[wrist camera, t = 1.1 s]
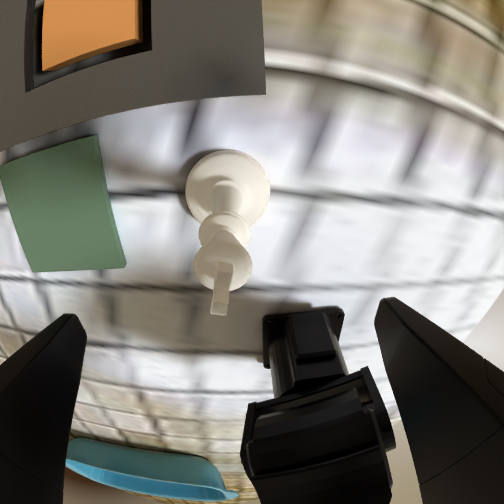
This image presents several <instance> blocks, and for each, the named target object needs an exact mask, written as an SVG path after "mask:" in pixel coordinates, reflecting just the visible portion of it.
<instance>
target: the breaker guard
mask: <svg viewBox="0 0 504 504" xmlns="http://www.w3.org/2000/svg"><path fill="white" fill-rule="evenodd" d="M35 3H36V0H0V152H1V151H3V150H6V149H8V148H10V147H13V146H15V145H17V144H20V143H22V142H25V141H27V140H30V139H33V138H35V137H38V136H41V135H43V134H46V133H49V132H52V131H55V130H58V129H61V128H64V127H67V126H71V125H74V124H77V123H81V122H84V121H88V120H91V119H95V118H99V117H103V116H107V115H111V114H115V113H120V112H124V111H129V110H134V109H139V108H144V107H149V106H155V105H161V104H167V103H174V102H181V101H189V100H197V99H207V98H218V97H231V96H249V95H266V82H265V59H264V38H263V19H262V2H261V0H151V29H152V50H151V51H146V52H142V53H138V54H133V55H129V56H125V57H121V58H118V59H114V60H111V61H107V62H104V63H101V64H97V65H94V66H91V67H88V68H85V69H82V70H79V71H77V72H74V73H71V74H69V75H66V76H63V77H61V78H58V79H56V80H53V81H51V82H49V83H46V84H44V85H42V86H40V87H37V88H35V89H34V79H33V27H34V13H35Z"/></svg>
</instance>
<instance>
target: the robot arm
mask: <svg viewBox="0 0 504 504" xmlns="http://www.w3.org/2000/svg"><path fill="white" fill-rule="evenodd" d="M338 314H339V315H338ZM344 316H345V314H344V312H343V310H342V309H341V308H337V309H328V310H319V311H309V312H299V313H287V314H275V315H266V316H264V317H263V319H262V334H263V365H264V368H267V369H271V375H272V384H273V392H274V399H270V400H266V401H262V402H258V403H257V402H253V403H249V404H248V409H247V414H246V419H245V425H244V432H243V438H242V444H241V451H240V457H241V463H242V465H243V466H244V470H245V472H246V474H247V476H248V478H249V479H250V481H251V482H252V484H253V486H254V488H255V490H256V492H257V494H258V497H259V499H260V502H261V504H389V503H390V501H391V497H392V493H391V488H392V484H393V481H392V477H391V472H390V468H389V464H388V459H387V456H386V452H387V451H390V450H393V449H395V448H396V442H395V437H394V433H393V429H392V425H391V422H390V419H389V416H388V413H387V410H386V407H385V405H384V402H383V400H382V398H381V395H380V393H379V391H378V388H377V386H376V384H375V381H374V379H373V377H372V375H371V372H370V370H369V368H368V366H366V367H364V368H361V369H360V370H359V371H357V372H354V373H352V374H349V373H348V370H347V367H346V364H345V361H344V358H343V355H342V352H341V349H340V346H339V343H338V341H339V337H340V333H341V329H342V325H343V320H344ZM267 321H270V322H267ZM374 325H375V330H376V334H377V337H378V341H379V345H380V349H381V354H382V358H383V362H384V366H385V370H386V373H387V376H388V379H389V382H390V385H391V388H392V391H393V394H394V397H395V400H396V403H397V406H398V409H399V412H400V416H401V419H402V422H403V425H404V429H405V432H406V435H407V439H408V443H409V446H410V450H411V454H412V458H413V462H414V466H415V469H416V474H417V477H418V482H419V484H420V485H419V487H420V492H421V497H422V501H423V504H504V372H503V371H502V370H500V369H499V368H497V367H496V366H495V365H493V364H492V363H490V362H489V361H488V360H486V359H483V357H482V356H481V355H479V354H478V353H476V352H475V351H474V350H472V349H470V348H469V347H468V346H467V345H465V344H464V343H462V342H461V341H459V340H458V339H457V338H455V337H454V336H452V335H451V334H449V333H448V332H446V331H445V330H443V329H442V328H441V327H439V326H438V325H436V324H435V323H433V322H432V321H430V320H429V319H427V318H426V317H424V316H423V315H421V314H420V313H418V312H417V311H415V310H414V309H412V308H411V307H409V306H408V305H406V304H405V303H403V302H402V301H400V300H398V299H397V298H395V297H389V298H383V299H381V301H380V303H379V306H378V310H377V313H376V316H375V320H374ZM86 342H87V335H86V332H85V330H84V328H83V326H82V324H81V322H80V320H79V318H78V317H77V316H76V315H75V314H68V313H66V314H63V315H62V316H60V317H59V318H58V319H56V320H55V321H54V322H52V323H51V324H50V325H49V326H47V327H46V328H45V329H43V330H42V331H41V332H40V333H38V334H37V335H36V336H35V337H33V338H32V339H31V340H30V341H28V342H27V343H26V344H25V345H24V346H22V347H21V348H20V349H19V350H17V351H16V352H15V353H14V354H13V355H11V356H10V357H9V358H8V359H7V360H6V361H4V362H3V363H2V364H1V365H0V504H63V488H64V476H65V466H66V457H67V450H68V443H69V436H70V430H71V424H72V419H73V413H74V408H75V403H76V398H77V394H78V389H79V385H80V379H81V373H82V366H83V360H84V354H85V348H86Z"/></svg>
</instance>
